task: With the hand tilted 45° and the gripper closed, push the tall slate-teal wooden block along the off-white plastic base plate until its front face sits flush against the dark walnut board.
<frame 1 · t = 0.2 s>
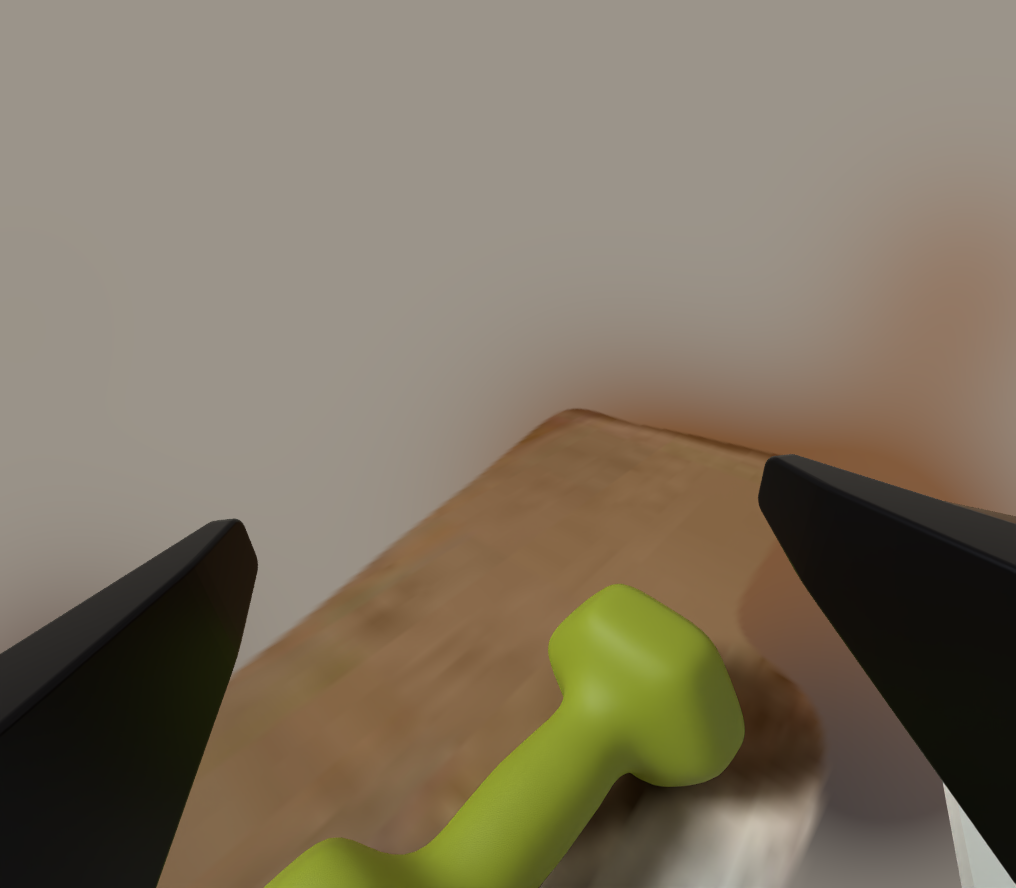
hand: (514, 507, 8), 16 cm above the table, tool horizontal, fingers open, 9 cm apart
dumbbell: (530, 860, 18), on the table
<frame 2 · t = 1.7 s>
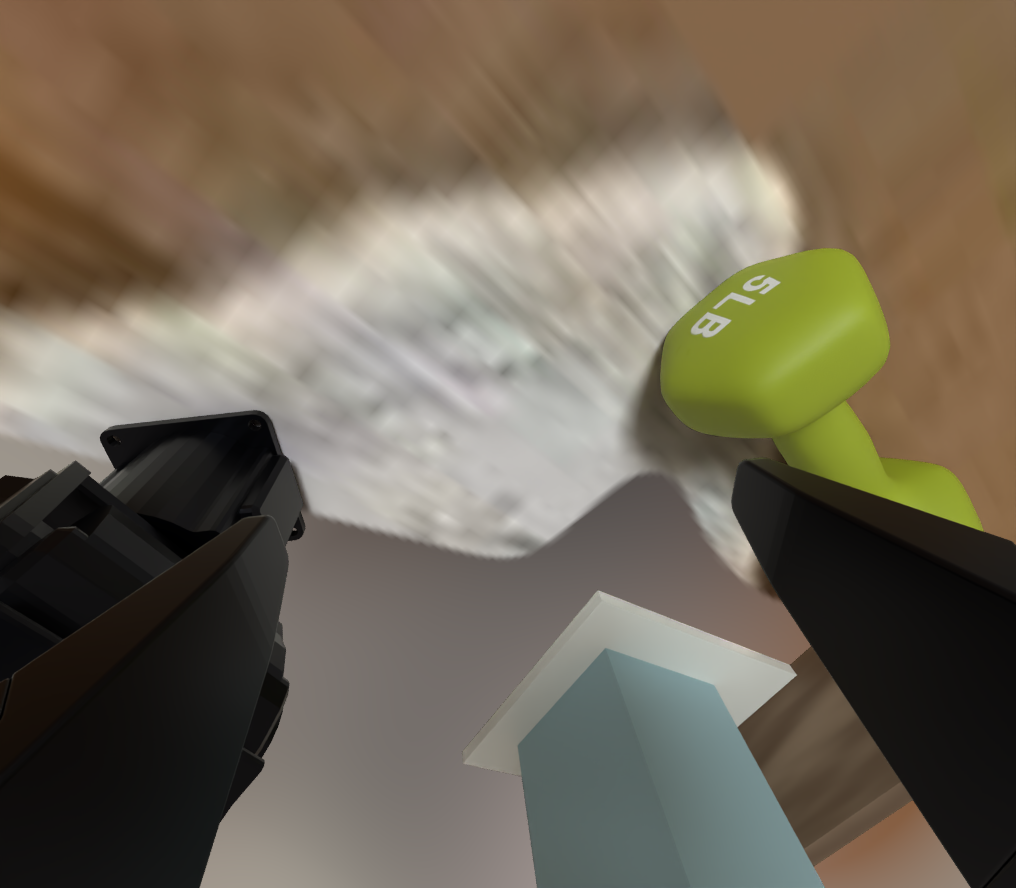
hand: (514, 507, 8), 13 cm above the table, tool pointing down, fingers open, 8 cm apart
board: (724, 737, 36), on the table
block: (615, 715, 32), point 1 cm above the table, touching plate
dumbbell: (773, 412, 24), on the table
plate: (625, 708, 33), on the table
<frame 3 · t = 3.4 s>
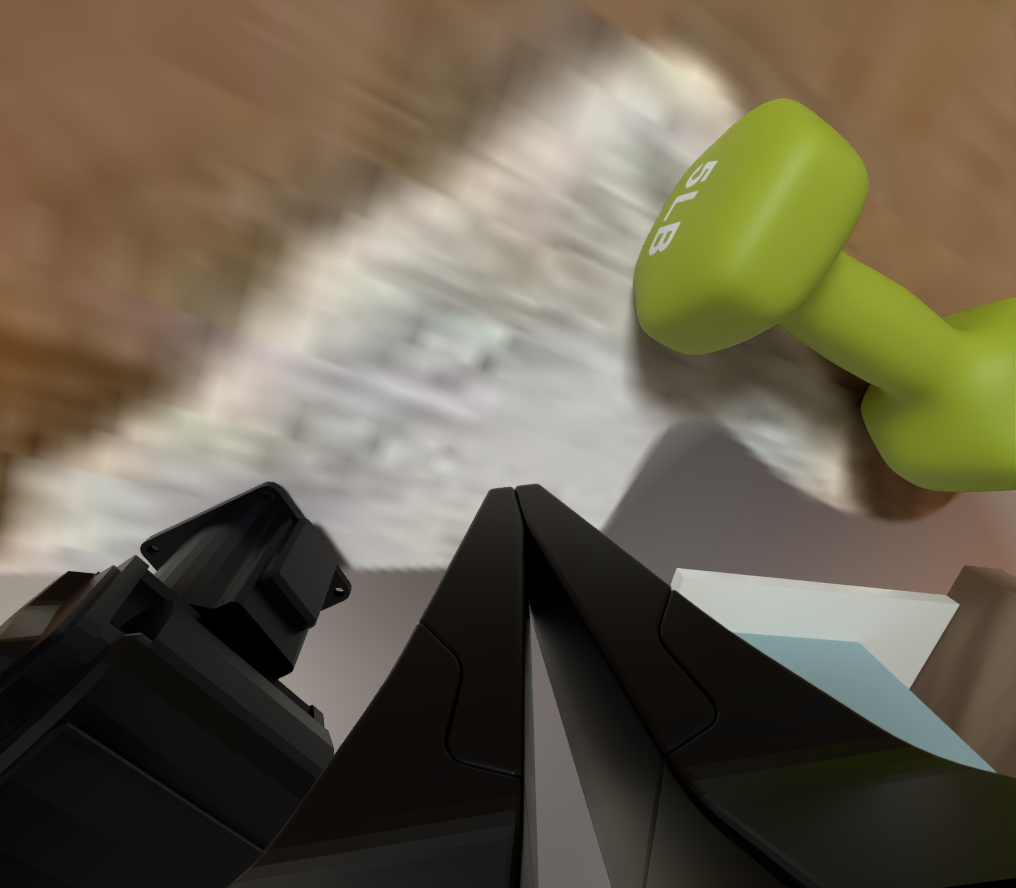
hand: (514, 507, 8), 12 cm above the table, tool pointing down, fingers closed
board: (901, 703, 30), on the table
block: (753, 706, 28), point 1 cm above the table, touching plate
dumbbell: (795, 313, 21), on the table
plate: (764, 695, 29), on the table
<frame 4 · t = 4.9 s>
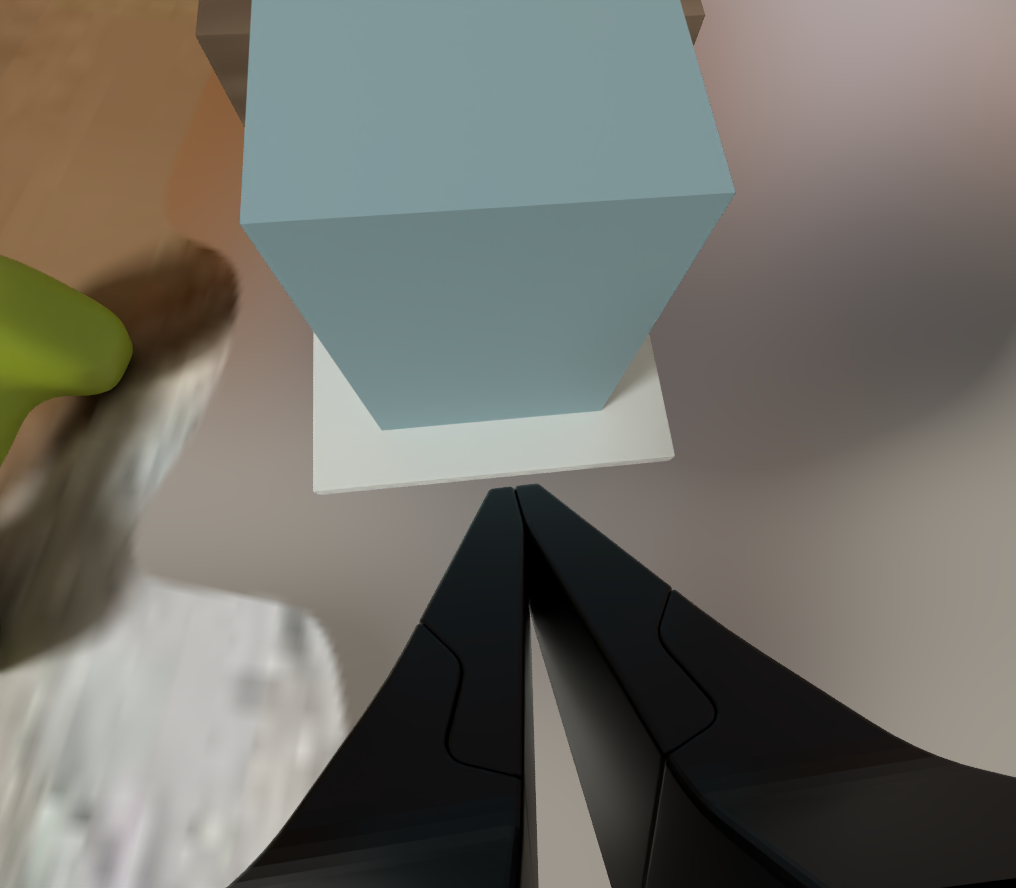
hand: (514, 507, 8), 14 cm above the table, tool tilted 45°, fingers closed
board: (465, 167, 27), on the table
block: (483, 332, 24), point 1 cm above the table, touching plate
dumbbell: (29, 491, 22), on the table
plate: (481, 318, 25), on the table
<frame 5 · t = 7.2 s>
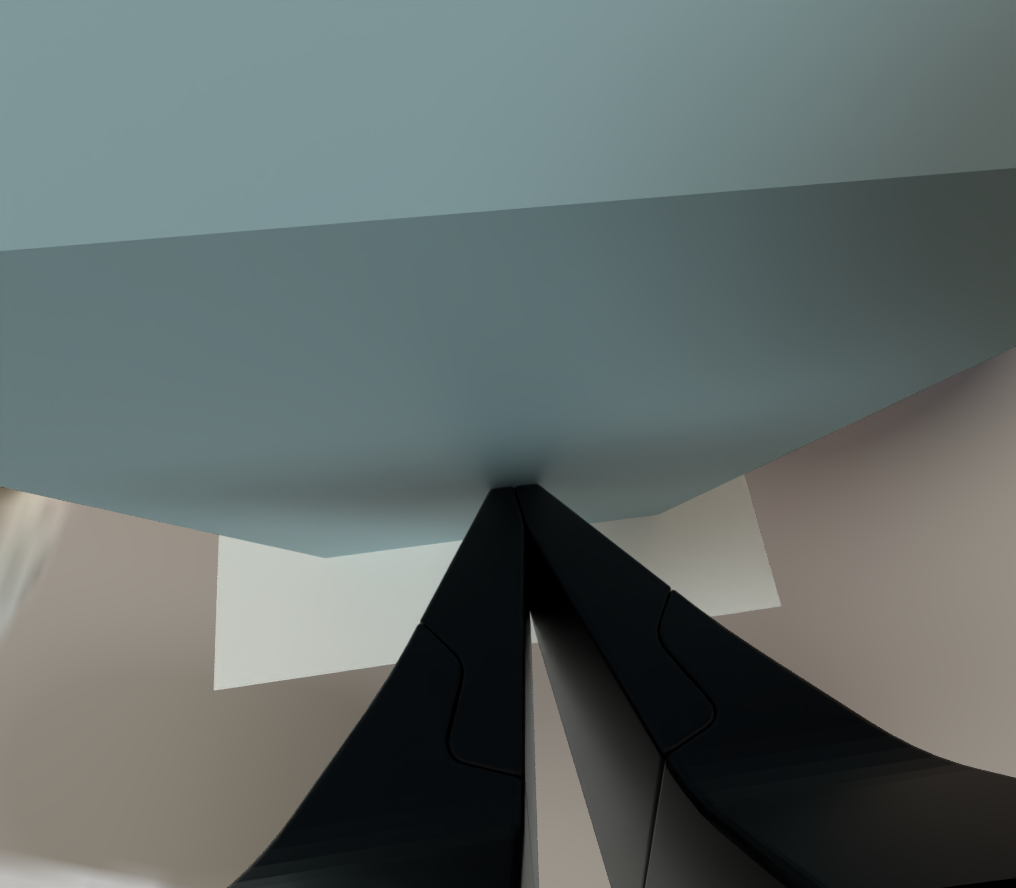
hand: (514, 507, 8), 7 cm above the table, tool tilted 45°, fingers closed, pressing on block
block: (478, 396, 16), point 1 cm above the table, touching gripper, plate
plate: (476, 388, 17), on the table
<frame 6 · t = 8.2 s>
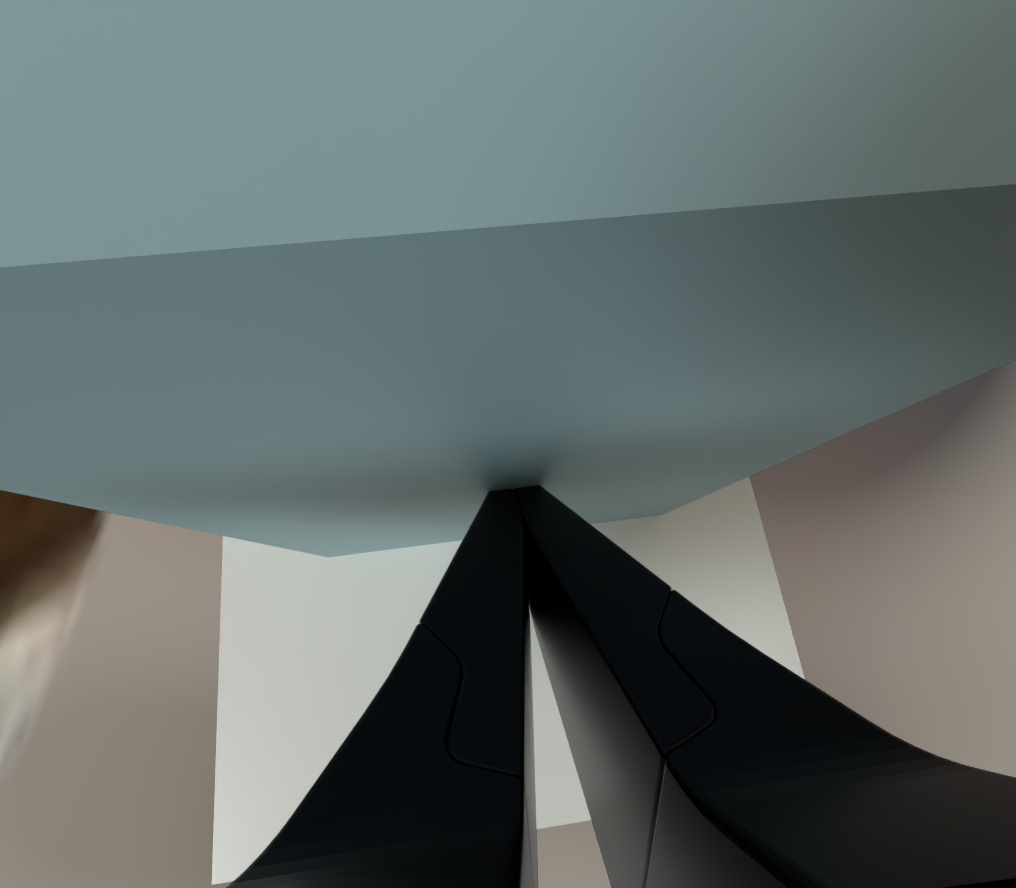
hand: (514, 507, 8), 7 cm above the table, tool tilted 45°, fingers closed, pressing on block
block: (481, 395, 16), point 1 cm above the table, touching board, gripper, plate
plate: (496, 515, 16), on the table
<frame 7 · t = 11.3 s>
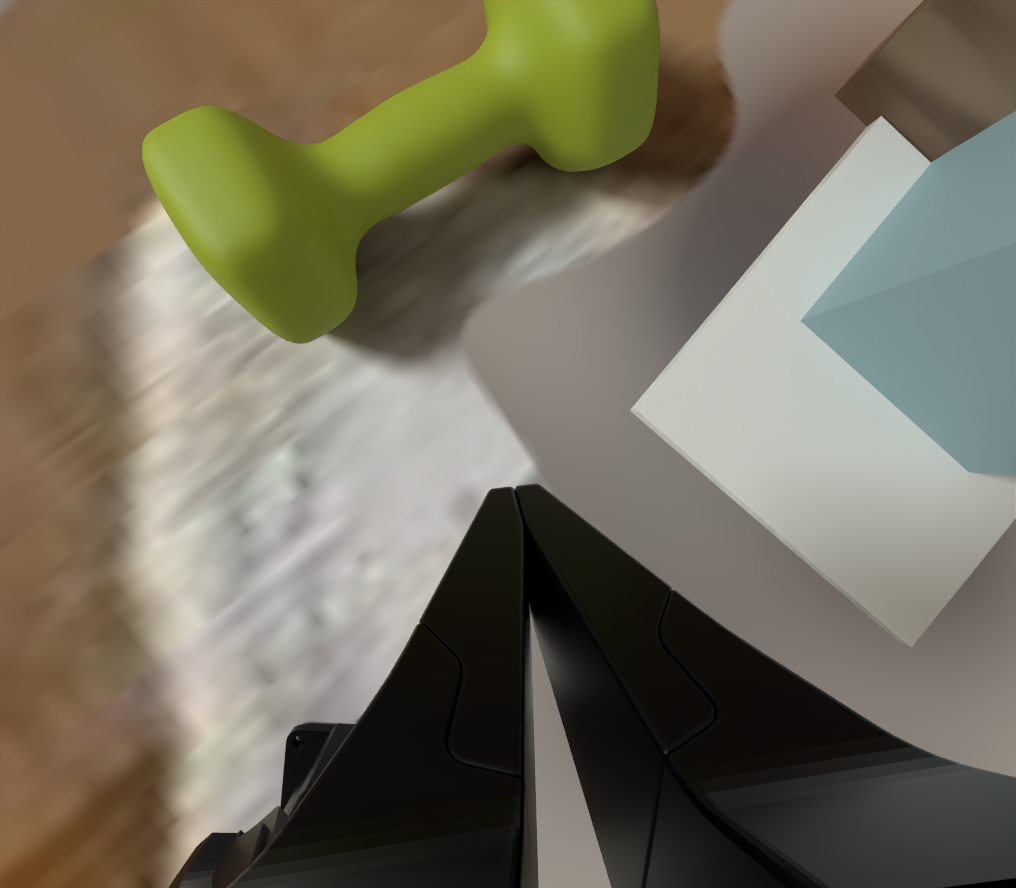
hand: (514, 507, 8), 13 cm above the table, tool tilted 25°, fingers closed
board: (1012, 226, 22), on the table
block: (950, 317, 21), point 1 cm above the table, touching board, plate
dumbbell: (430, 196, 21), on the table
plate: (881, 386, 22), on the table
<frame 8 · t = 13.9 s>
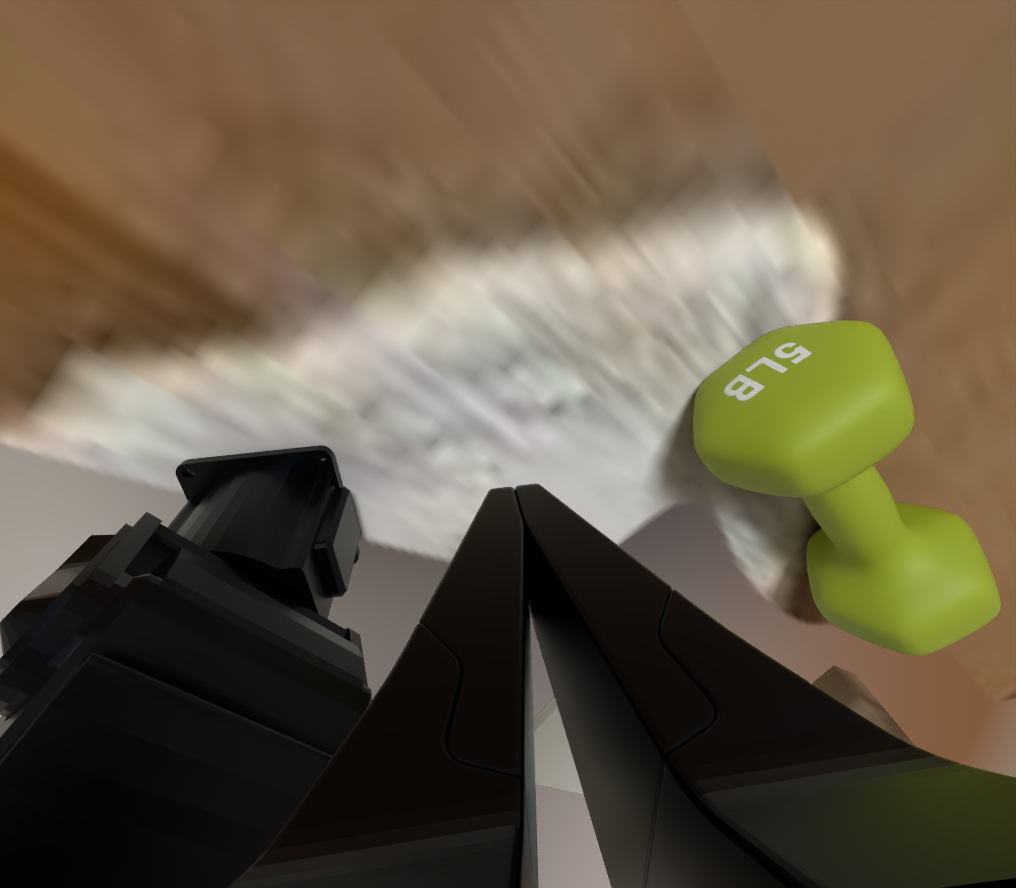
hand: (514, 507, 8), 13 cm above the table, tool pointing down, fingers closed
board: (745, 751, 38), on the table
dumbbell: (794, 457, 25), on the table
plate: (652, 722, 34), on the table
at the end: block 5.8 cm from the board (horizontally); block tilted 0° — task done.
